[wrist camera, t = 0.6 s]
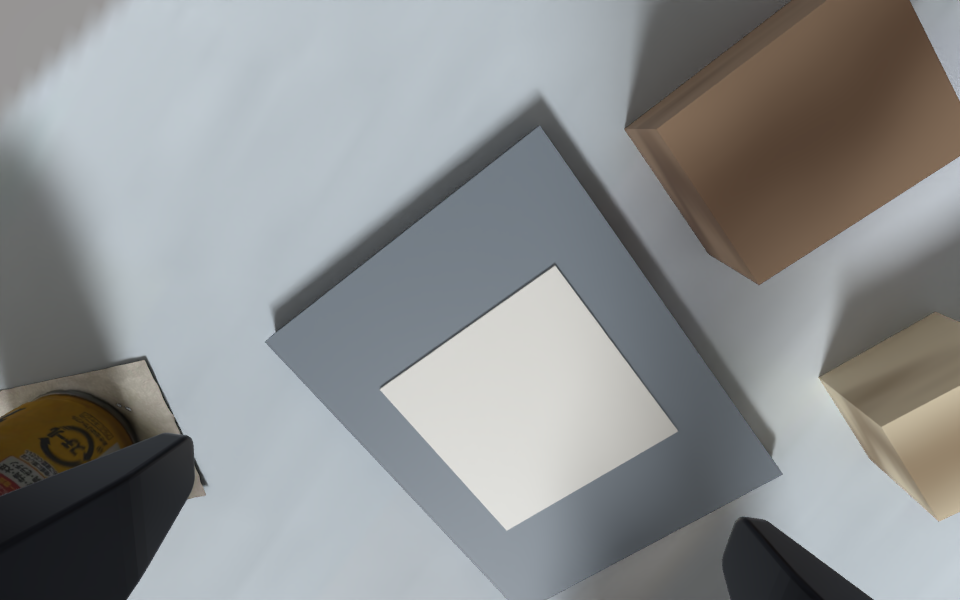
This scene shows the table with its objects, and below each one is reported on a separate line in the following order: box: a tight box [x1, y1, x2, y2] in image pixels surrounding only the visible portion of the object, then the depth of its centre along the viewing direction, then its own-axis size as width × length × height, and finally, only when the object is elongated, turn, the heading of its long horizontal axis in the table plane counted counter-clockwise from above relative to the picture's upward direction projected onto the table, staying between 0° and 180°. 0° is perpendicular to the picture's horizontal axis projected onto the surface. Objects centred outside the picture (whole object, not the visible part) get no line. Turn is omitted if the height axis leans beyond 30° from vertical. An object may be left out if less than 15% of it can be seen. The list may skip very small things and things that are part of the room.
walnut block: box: [625, 0, 960, 285], centre depth 17 cm, size 6×7×4 cm
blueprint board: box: [265, 126, 782, 600], centre depth 22 cm, size 18×14×1 cm
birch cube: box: [819, 312, 960, 521], centre depth 20 cm, size 5×5×4 cm
